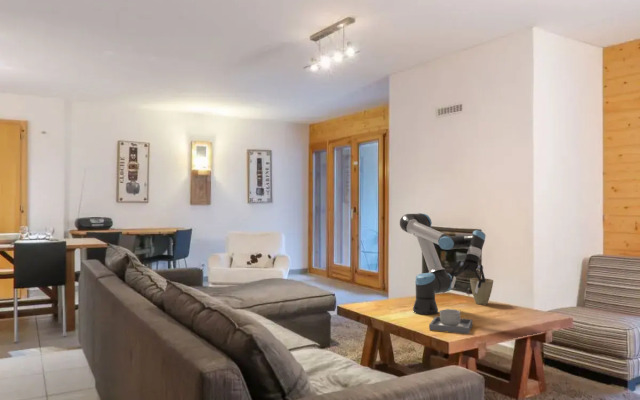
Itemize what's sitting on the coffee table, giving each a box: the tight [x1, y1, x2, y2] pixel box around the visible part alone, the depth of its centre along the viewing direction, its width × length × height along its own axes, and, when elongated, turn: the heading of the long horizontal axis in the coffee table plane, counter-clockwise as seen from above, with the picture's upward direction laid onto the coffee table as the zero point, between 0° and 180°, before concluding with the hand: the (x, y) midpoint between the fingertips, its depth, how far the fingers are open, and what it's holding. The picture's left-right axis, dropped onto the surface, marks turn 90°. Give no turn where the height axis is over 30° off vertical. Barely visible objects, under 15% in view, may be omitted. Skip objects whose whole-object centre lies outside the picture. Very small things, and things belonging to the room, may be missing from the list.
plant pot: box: [469, 277, 494, 305], centre depth 331 cm, size 15×15×16 cm
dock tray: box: [428, 316, 473, 335], centre depth 267 cm, size 20×20×3 cm
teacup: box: [439, 308, 461, 326], centre depth 267 cm, size 14×11×8 cm
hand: (463, 290), depth 278 cm, fingers open, 13 cm apart
